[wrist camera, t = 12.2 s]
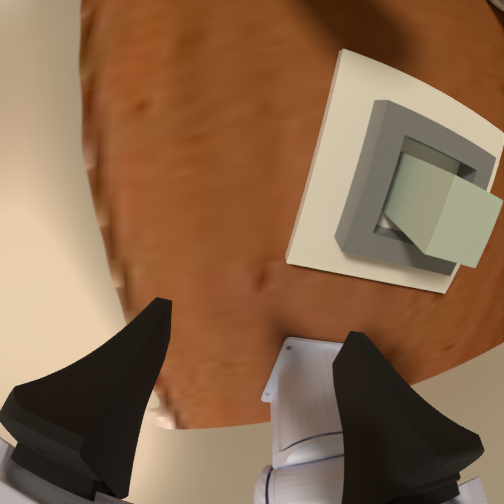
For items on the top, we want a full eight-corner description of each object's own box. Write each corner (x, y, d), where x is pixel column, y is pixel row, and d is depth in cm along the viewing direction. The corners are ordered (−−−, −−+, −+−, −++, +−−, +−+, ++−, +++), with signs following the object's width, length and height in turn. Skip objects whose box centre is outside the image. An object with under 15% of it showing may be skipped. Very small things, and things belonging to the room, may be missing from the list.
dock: (439, 287, 21) (456, 307, 19) (285, 255, 20) (288, 279, 18) (497, 132, 15) (522, 139, 12) (338, 51, 14) (353, 41, 11)
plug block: (427, 224, 18) (475, 268, 12) (380, 210, 17) (424, 254, 12) (446, 171, 16) (503, 200, 11) (399, 151, 16) (454, 174, 10)
